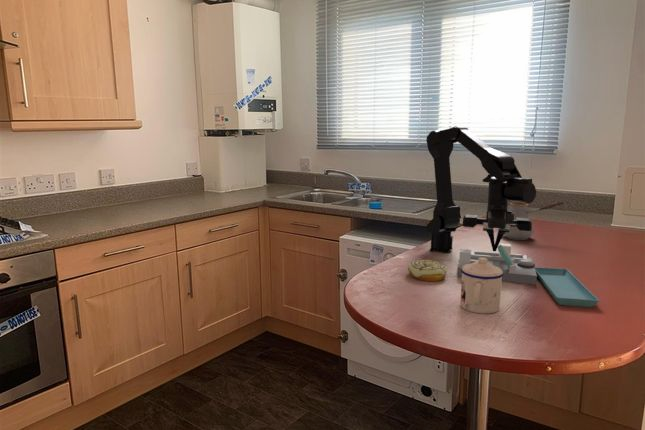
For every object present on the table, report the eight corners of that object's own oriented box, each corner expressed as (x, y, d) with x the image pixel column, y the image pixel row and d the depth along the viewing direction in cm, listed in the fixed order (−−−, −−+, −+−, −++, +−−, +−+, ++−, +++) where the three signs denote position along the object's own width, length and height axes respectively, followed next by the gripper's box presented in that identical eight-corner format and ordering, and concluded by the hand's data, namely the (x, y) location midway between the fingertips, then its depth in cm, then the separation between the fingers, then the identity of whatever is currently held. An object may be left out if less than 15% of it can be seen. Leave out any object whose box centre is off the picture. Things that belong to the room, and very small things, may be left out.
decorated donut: (413, 283, 127) (413, 269, 126) (403, 271, 137) (404, 258, 137) (451, 282, 127) (452, 268, 127) (439, 270, 138) (439, 257, 137)
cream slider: (499, 258, 139) (500, 245, 139) (498, 256, 142) (499, 243, 141) (510, 259, 138) (511, 246, 138) (509, 257, 141) (510, 244, 140)
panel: (457, 277, 131) (458, 261, 130) (460, 259, 148) (461, 245, 147) (537, 285, 125) (538, 268, 124) (531, 266, 142) (532, 251, 141)
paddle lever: (511, 272, 127) (497, 251, 128) (510, 267, 132) (497, 246, 132) (516, 269, 127) (502, 248, 127) (515, 264, 131) (501, 244, 132)
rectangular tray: (531, 273, 136) (532, 265, 135) (566, 275, 134) (567, 267, 133) (555, 307, 111) (556, 297, 110) (599, 310, 109) (600, 300, 108)
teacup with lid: (462, 297, 116) (465, 251, 113) (502, 303, 112) (506, 255, 110) (453, 315, 105) (456, 264, 103) (497, 322, 101) (500, 269, 99)
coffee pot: (496, 238, 176) (499, 198, 173) (504, 232, 185) (506, 194, 182) (560, 246, 164) (564, 203, 161) (564, 240, 174) (568, 199, 171)
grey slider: (458, 265, 133) (459, 251, 132) (459, 262, 135) (460, 249, 135) (470, 266, 132) (470, 252, 131) (470, 263, 134) (471, 250, 134)
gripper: (463, 201, 133) (460, 255, 136) (535, 204, 127) (530, 261, 130) (465, 195, 144) (462, 246, 147) (532, 199, 138) (527, 251, 141)
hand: (494, 251), depth 141 cm, fingers closed
